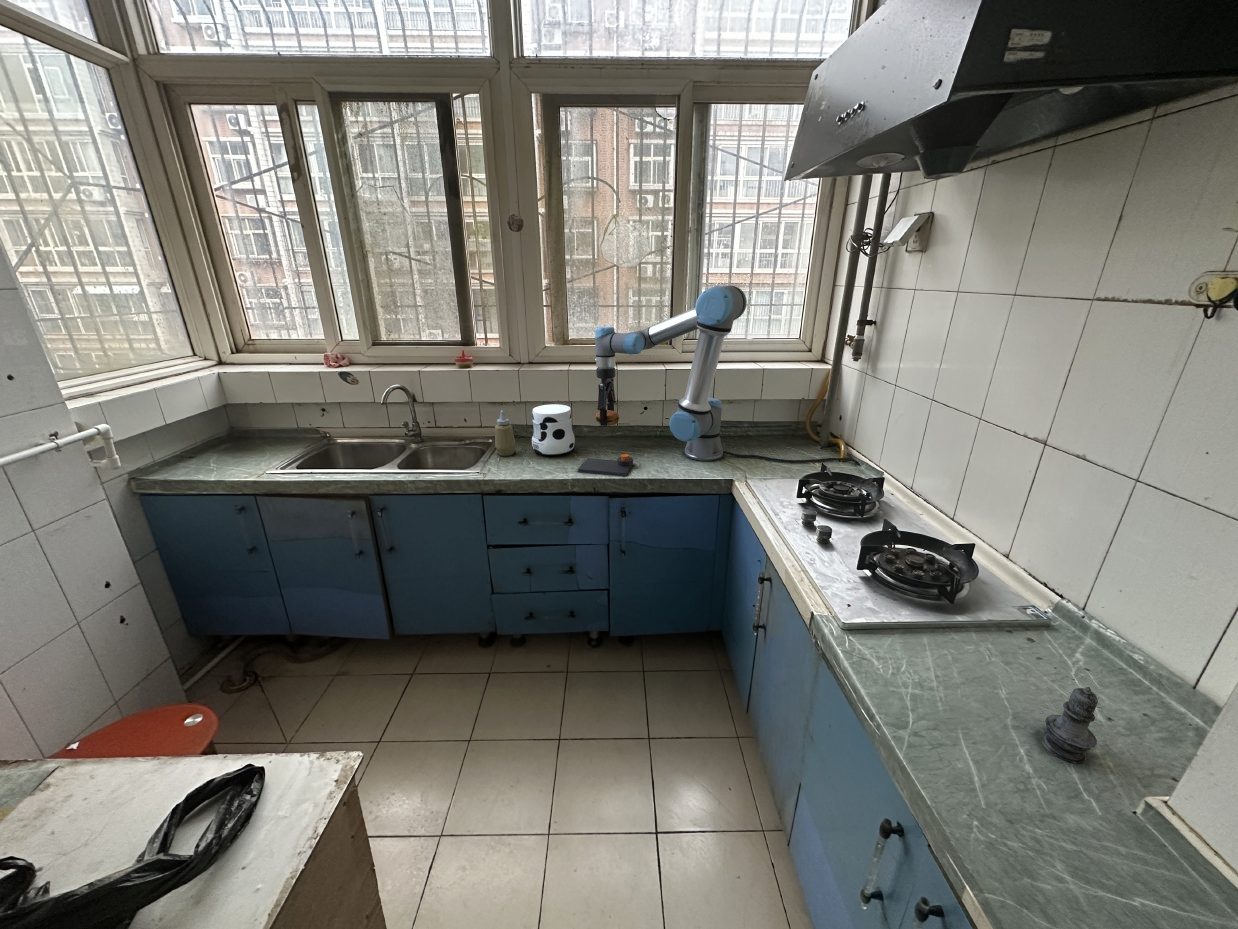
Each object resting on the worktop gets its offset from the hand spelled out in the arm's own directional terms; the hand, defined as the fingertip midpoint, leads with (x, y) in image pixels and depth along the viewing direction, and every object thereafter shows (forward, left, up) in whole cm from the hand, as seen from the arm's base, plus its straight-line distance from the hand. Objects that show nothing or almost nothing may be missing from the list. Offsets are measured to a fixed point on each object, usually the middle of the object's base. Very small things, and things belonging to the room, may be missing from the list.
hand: (607, 422), depth 204 cm
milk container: (+20, +9, -11) cm, 25 cm away
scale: (-6, +22, -11) cm, 26 cm away
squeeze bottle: (+38, +16, -11) cm, 43 cm away
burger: (0, 0, 0) cm, 0 cm away
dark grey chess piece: (-106, +118, -11) cm, 159 cm away
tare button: (-12, +19, -9) cm, 24 cm away
